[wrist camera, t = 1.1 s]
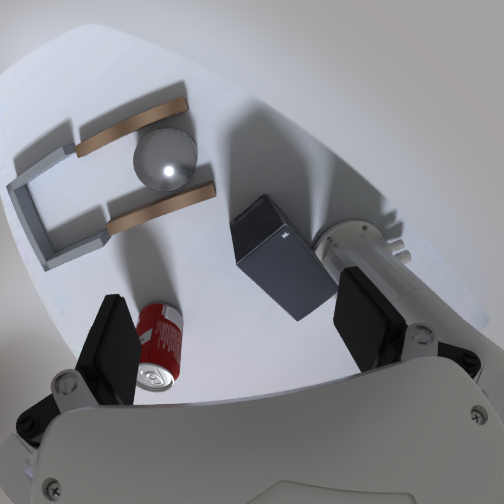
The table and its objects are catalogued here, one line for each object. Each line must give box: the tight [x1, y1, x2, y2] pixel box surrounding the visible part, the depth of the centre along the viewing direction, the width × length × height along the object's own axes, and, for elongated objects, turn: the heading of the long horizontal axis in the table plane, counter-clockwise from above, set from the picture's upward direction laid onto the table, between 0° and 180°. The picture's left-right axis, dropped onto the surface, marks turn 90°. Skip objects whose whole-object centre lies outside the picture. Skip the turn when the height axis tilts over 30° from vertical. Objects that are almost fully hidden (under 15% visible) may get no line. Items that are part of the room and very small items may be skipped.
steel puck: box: [133, 128, 198, 191], centre depth 29 cm, size 7×7×3 cm
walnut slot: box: [74, 97, 216, 236], centre depth 29 cm, size 14×12×2 cm
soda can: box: [136, 303, 183, 392], centre depth 34 cm, size 7×7×12 cm
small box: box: [230, 194, 338, 321], centre depth 32 cm, size 11×6×10 cm, turn 40°
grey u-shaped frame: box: [6, 144, 111, 272], centre depth 28 cm, size 11×13×3 cm
